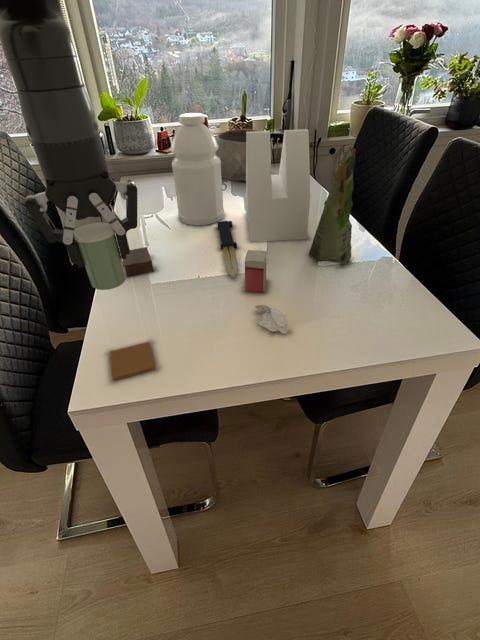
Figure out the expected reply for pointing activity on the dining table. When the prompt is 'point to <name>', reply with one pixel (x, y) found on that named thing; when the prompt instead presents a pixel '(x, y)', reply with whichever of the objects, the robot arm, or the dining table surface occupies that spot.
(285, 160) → the white slotted block
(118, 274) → the tumbler
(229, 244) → the knife
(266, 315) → the tissue
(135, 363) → the coaster
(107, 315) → the dining table surface
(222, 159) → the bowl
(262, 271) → the small box
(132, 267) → the walnut wood block
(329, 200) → the pouch
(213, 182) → the bottle
